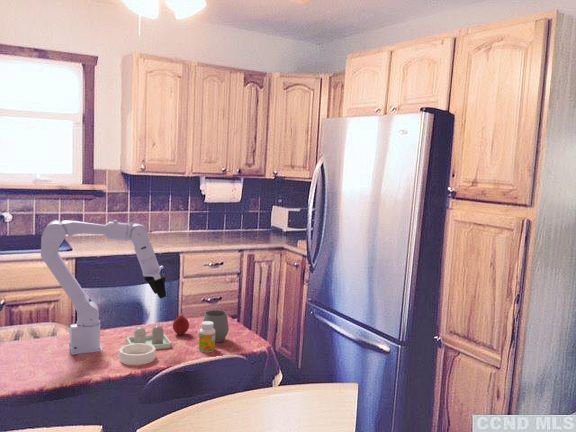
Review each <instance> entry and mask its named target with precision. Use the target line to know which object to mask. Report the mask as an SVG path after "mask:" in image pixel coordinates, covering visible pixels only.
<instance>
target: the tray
mask: <svg viewBox="0 0 576 432" xmlns="http://www.w3.org/2000/svg"><path fill="white" fill-rule="evenodd" d="M125 342H126V345H129V344H134V335H133V336H126V337H125ZM146 344H150V345H152V334H146ZM153 346H154V347H155V348H156V350H162V349H163V350H164V349H170V348H171V349H172V347H173V345H172V341H171V340H170V339H169V338H168V337H167V335H166V334H165V333H164V332H163V344H155V345H153Z"/></svg>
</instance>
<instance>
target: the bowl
mask: <svg viewBox="0 0 576 432" xmlns="http://www.w3.org/2000/svg"><path fill="white" fill-rule="evenodd" d="M156 350H157V349H156V348H155V347H154V346H153V345H150V344H144V343H135V344H129V345H128V344H126V345H123V346H121V347H120V348H119V349H118V360H119V362H120V363H122V364H124V365H128V366H138V365H139V366H140V365H141V366H142V365H146V364H149V363H151V362H153V361H154V360H155V359H156V354H157V353H156Z"/></svg>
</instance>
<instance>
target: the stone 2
mask: <svg viewBox="0 0 576 432" xmlns="http://www.w3.org/2000/svg"><path fill="white" fill-rule="evenodd" d="M163 333H164V327H162V325H158V324H157V325H154V327H152V330H151V335H152V345H155V344H163Z"/></svg>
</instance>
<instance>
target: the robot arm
mask: <svg viewBox="0 0 576 432" xmlns="http://www.w3.org/2000/svg"><path fill="white" fill-rule="evenodd" d="M77 234H86V235H87V234H88V235H104V236H105V238H106V239H107V240H113V241H114V240H115V241H132V244H133V246H134V247H133V249H134V253H135V255H136V258H137V260H138V263H139V265H140V268H141V271H142V278H143V279H144V280H145V282H147V284H148V285H149V288H151V290H152V292H153V293H154V294H155V295H157V297H158V298H159V299H160V300H161V299H163V298H165V297H167V292H166V275H162V276H161V274H160V272H161V270H162V269H164V265H159V261H158V260H157V255H156V253H155V250H154V248H153V245H152V243H151V242H150V238H149V231H147V229H146V227H145V226H144V225H143V224H140V223H138V222H135V223H133V222H131V221H130V222H129V223H128V222H119V221H118V220H117V219H114V220H113V221H108V222H107V223H106V224H100V223H93V222H85V221H78V220H67V219H66V220H62V221H61V220H59V219H58V220H57V219H54V220H52V221H50V222H48V223H47V225H46V227H45V228H44V231H43V233H42V234H41V238H40V239H41V242H40V257H41V259H42V261H44V264H45V265H46V266H47V268H48V269H49V271H50V272H51V274H52V275H53V277H54V278H55V279H56V280H57V283H58V284H59V285H60V286H61V288H62V289H63V291H64V293H65V294H66V296H67V297H68V298H69V300H70V301H71V302H72V305H73V307H74V310H75V311H76V313H77V317H78V320H77V321H76V323H74V324H69V343H68V344H69V345H68V346H69V349H70V350H69V351H70V354H71V355H72V356H74V355H77V354H86V353H87V354H88V353H95V352H102V351H103V348H102V345H101V320H100V319H99V318H100V312H99V309H100V308H99V304H98V303H97V301H95V300H94V299H92V298H90V296H89V294H87V293H86V292H85V291H84V289H83V287H82V286H81V285H80V284H79V283H80V282H78V280H77V278H76V277H75V276H74V274H73V273H72V271H71V270H70V268H69V267H68V265H67V264H66V262H65V261H64V260H63V258H62V256H61V254H59V249H60V247H61V245H62V243H63V241H64V240H65V239H66V235H67V236H68V238H71V237H72V236H74V235H77Z"/></svg>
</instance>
